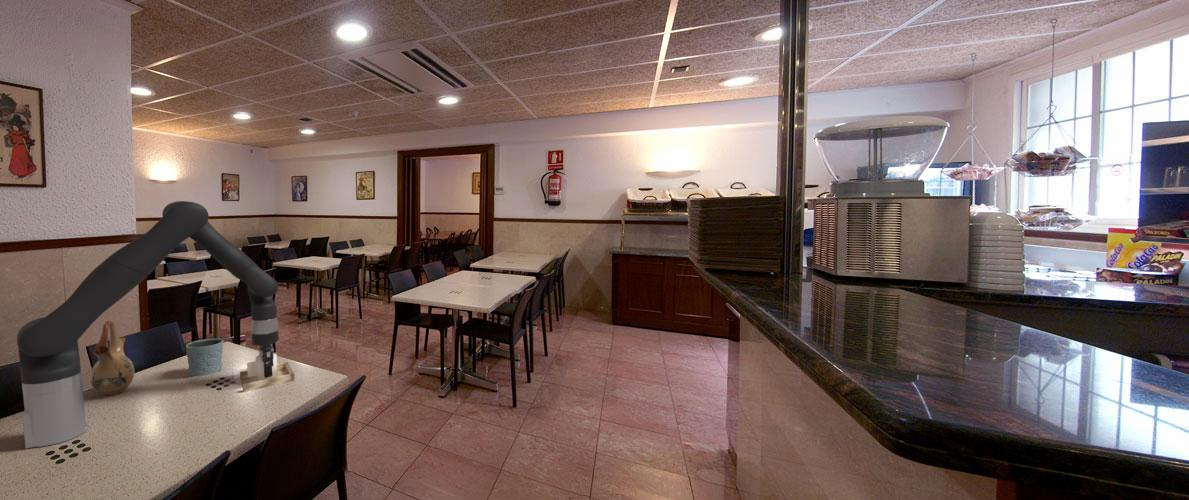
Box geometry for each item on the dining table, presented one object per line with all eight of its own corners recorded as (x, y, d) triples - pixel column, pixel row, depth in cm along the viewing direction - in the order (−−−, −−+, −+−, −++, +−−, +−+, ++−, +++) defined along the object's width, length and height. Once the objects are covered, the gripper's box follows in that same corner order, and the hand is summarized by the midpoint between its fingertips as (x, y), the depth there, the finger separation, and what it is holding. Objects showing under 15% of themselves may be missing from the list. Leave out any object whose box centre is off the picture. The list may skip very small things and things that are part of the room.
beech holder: (243, 393, 132) (243, 385, 131) (240, 379, 142) (239, 371, 142) (294, 381, 142) (294, 373, 141) (287, 369, 152) (287, 362, 152)
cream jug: (249, 386, 136) (247, 362, 135) (247, 380, 140) (246, 357, 139) (278, 379, 142) (277, 356, 141) (276, 374, 146) (275, 351, 145)
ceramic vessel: (125, 398, 125) (119, 325, 123) (81, 406, 120) (74, 329, 117) (142, 380, 138) (137, 313, 136) (103, 386, 133) (97, 316, 130)
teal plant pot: (195, 369, 149) (194, 339, 148) (229, 366, 153) (228, 337, 152) (181, 380, 140) (179, 348, 138) (217, 376, 144) (216, 345, 143)
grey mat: (234, 381, 140) (234, 379, 140) (232, 372, 147) (232, 371, 147) (270, 373, 148) (269, 372, 148) (266, 365, 154) (266, 364, 154)
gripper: (249, 327, 142) (251, 370, 144) (253, 337, 132) (255, 383, 134) (275, 323, 148) (277, 365, 149) (281, 332, 138) (283, 377, 139)
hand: (267, 373), depth 141 cm, fingers closed on cream jug, 6 cm apart
